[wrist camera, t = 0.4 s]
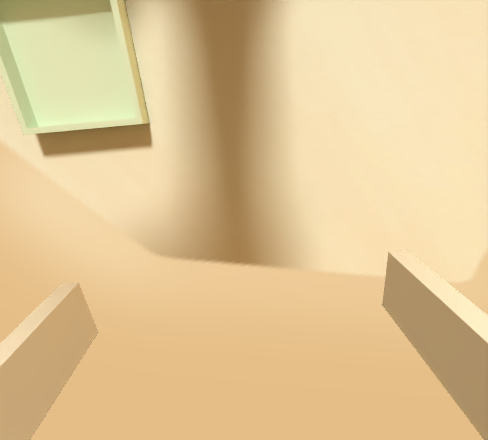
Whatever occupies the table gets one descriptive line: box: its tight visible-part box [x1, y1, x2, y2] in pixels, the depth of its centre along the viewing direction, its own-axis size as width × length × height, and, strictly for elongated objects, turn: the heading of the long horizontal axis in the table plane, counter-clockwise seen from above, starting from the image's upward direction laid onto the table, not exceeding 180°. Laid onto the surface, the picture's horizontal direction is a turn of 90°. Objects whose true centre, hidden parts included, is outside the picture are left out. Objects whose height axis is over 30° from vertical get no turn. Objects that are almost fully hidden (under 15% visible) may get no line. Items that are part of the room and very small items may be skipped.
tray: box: [0, 0, 150, 135], centre depth 30 cm, size 14×14×3 cm
